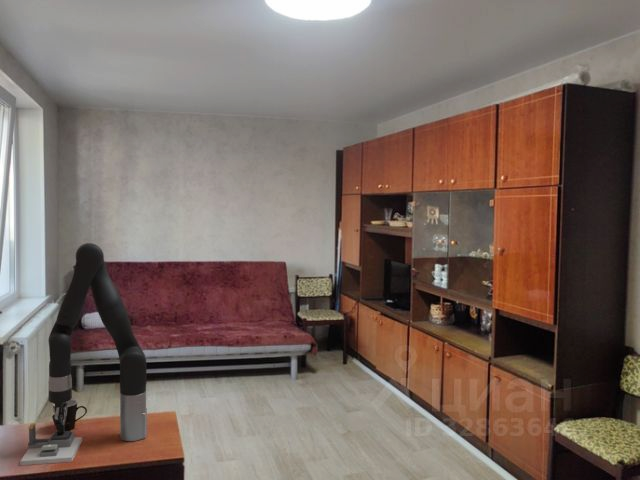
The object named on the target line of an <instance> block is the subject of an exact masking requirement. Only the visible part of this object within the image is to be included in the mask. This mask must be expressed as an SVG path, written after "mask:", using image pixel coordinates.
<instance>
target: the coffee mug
mask: <svg viewBox="0 0 640 480" xmlns="http://www.w3.org/2000/svg"><path fill="white" fill-rule="evenodd" d="M66 403H68V409H67V418H66V419H65V423H64V430H65V431H73V430H75V428H76V422H77V421H79V420H81V419H83V417H85V415H87V413H88V409H87V407H86V406H83V405H80V406H78V400H77V399H75V398H74V399H73V398H71V400H69V401H67V402H66ZM52 407H55V404H54V403H52ZM81 408H83V409H84V414H83V415H81V416H80V417H78V418H77V412H78V410H79V409H81ZM55 428H56V430H57V426H55Z"/></svg>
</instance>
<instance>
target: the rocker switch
mask: <svg viewBox="0 0 640 480" xmlns="http://www.w3.org/2000/svg"><path fill="white" fill-rule="evenodd" d="M56 448H57V444H53V445H43V446H42V447H41V450H54V449H56Z"/></svg>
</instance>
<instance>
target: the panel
mask: <svg viewBox="0 0 640 480" xmlns="http://www.w3.org/2000/svg"><path fill="white" fill-rule="evenodd" d="M54 433H55V432H53V433H52V434H51V436H50V437H46V438H45V437H44V438H36V439H37V443H36V444H31V445H29V446H28V450H27V451H26V452H25V453H24V455H23V457H22V458H21V459H20V465H22V466H33V464H34V465H44V464H56V463H58V464H59V463H71V462H73V460H74V459H75V456H76V454H77V453H78V450H79V448H80V445H81V444H82V441H83V437H82V436H81V437H80V436H79V437H75V431H71V436H70V437H69V439H67V440H53V441H52V436H53V435H54ZM53 444H57V448H56V449H54V450H41V447H42V446H43V445H53Z"/></svg>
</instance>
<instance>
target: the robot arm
mask: <svg viewBox="0 0 640 480" xmlns="http://www.w3.org/2000/svg"><path fill="white" fill-rule="evenodd" d="M104 257H105V255H104V251H103V250H102V248H101V247H100V246H99V245H97V244H95V243H92V242H87V243H83V244H81V245H80V246H79V247H78V248H77V250H76V252H75V266H74V271H73V272H74V273H73V276H72V279H71V281H70V284H69V286H68V289H67V291H66V293H65V294H64V297H63V300H62V303H61V305H60V308H59V310H58V314H57V317H56V320H55V322H54V324H53V327H52V328H51V330H50V333H49V336H48V340H47V341H48V348H49V350H48V351H49V364H48V390H47V391H48V402H49V403H51V404H55V407H53V406H52V407H53V408H52V410H53V414H52V416H51V418H52V421H53V424H54V427H56V426H57V429H56V432H57V435H63V434H64V432H65V430H64V423H65V419H66V418H67V409H68V403H66V402H67V401H69V400H71V399H73V380H72V379H73V378H72V363H71V362H72V361H71V353H72V339H71V336H72V335H73V332H74V329H75V326H77V324H78V322H79V319H80V316H81V314H82V311H83V308H84V306H85V305H84V304H85V302H86V299H87V295H88V292H89V288H90V291H91V296H92V298H93V302H94V305H95V308H96V310H97V313H98V316H99V318H100V320H101V322H102V324H103V326H104V328H105V330H106V331H107V332H108V333H109V335H110V337H111V339H112V340H113V342H114V345H115V348H116V351H117V355H118V358H119V412H120V414H119V417H120V419H119V421H120V422H119V423H120V427H119V428H120V435H119V437H120V439H121V440H122V441H126V442H135V441H140V440H143V439H146V438H147V433H148V409H147V358H146V355H145V352H144V351H143V349H142V348H141V346H140V344H139V343H138V340H137V339H136V336H135V334H134V332H133V328H132V324H131V321H130V317H129V313H128V311H127V309H126V306H125V304H124V301H123V299H122V296H121V295H120V292H119V291H118V289H117V287H116V286H115V284H114V281H113V280H112V279H111V277H110V274H109V271H108V269H107V266H106V262H105V258H104Z"/></svg>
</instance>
